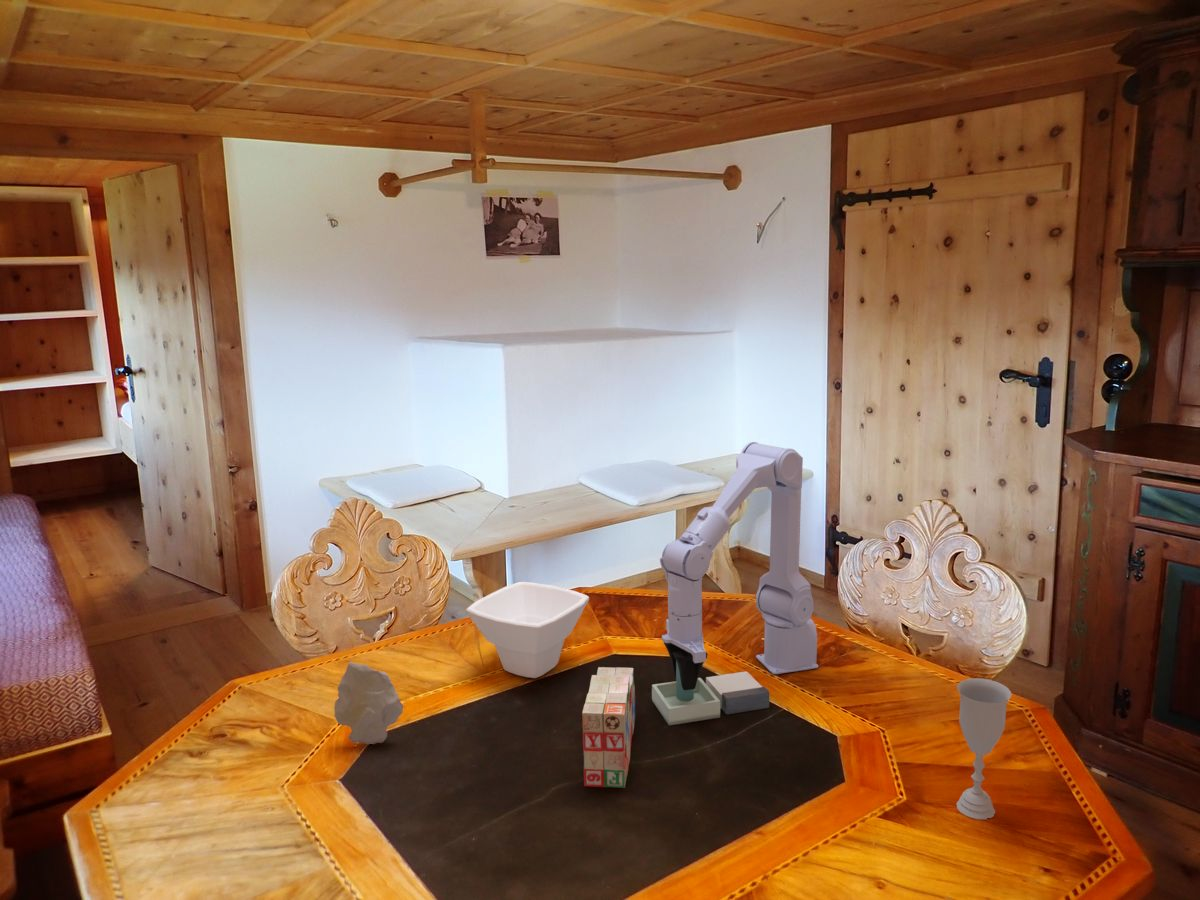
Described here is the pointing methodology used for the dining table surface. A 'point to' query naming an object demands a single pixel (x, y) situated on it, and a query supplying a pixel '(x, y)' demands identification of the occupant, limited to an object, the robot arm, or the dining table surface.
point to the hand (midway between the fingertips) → (685, 684)
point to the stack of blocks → (608, 727)
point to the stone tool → (367, 703)
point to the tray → (685, 703)
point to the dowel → (680, 693)
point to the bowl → (528, 624)
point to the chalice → (981, 736)
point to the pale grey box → (731, 683)
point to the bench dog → (745, 700)
